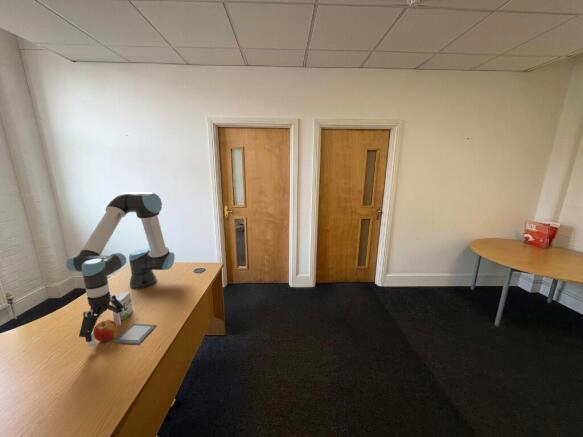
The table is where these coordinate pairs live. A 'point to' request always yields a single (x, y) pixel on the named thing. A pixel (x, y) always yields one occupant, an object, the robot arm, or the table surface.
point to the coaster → (135, 334)
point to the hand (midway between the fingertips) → (106, 334)
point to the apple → (105, 330)
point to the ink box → (124, 304)
